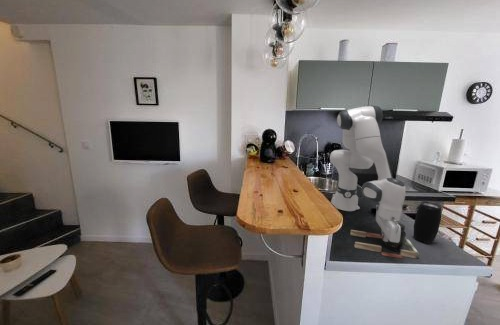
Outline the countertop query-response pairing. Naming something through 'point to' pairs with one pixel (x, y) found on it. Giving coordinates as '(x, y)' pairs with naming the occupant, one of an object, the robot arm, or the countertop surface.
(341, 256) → the countertop surface
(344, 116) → the robot arm
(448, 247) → the countertop surface
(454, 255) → the countertop surface
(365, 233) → the channel
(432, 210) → the portable speaker
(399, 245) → the supplement bottle
